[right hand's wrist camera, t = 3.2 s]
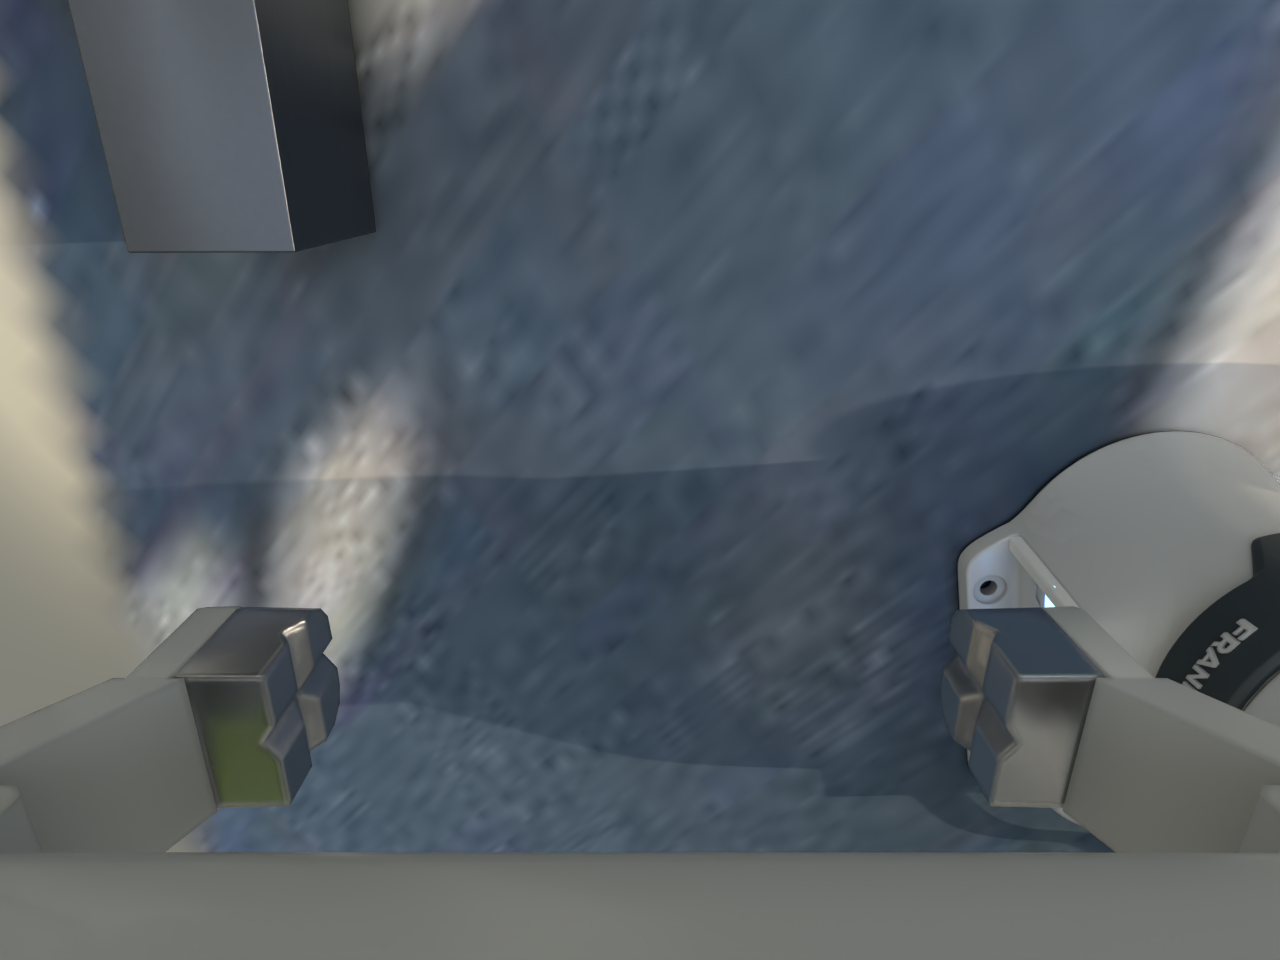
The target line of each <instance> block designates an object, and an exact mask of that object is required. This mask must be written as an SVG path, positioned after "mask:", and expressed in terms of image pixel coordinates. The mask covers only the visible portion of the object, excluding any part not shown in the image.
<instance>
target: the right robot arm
mask: <svg viewBox="0 0 1280 960" xmlns="http://www.w3.org/2000/svg"><path fill="white" fill-rule="evenodd" d="M986 581H991V583H990V585H989V586H987V587H986V588H980V587H981V585H982V584H983V583H984V582H986ZM958 587H959V606H960V610H956V612H955V614H954V616H953V618H952V620H951V623H950V629H949V634H948V640H949V641H950V643H951V644H952V646H953V647H954V649H955V650H956V652H957V654H956V655H955V656H954V657H953V658H952V659H951V660H950V661H949V662H948V663H947V664H946V665H945V666H944V667H943V670H942V678H941V686H940V697H941V708H942V714H943V717H944V720H945V723H946V727H947V729H948V730H949V732H950V734H951V736H952V738H953V740H954V741H955V742H957V743H958V744H960V745H961V746H963V747H964V748H966V749H967V757H968V767H969V769H970V771H971V772H972V774H973V776H974V778H975V780H976V781H977V783H978V785H979V787H980V788H981V790H982V792H983V794H984V796H985V797H986V799H987V801H988V803H989V804H990V806H1009V807H1046V808H1052V809H1053V810H1054V811H1055V812H1057V813H1058V814H1060V815H1061V816H1063V817H1064V818H1066V819H1067V820H1069V821H1071V822H1073V823H1076V824H1078V825H1080V826H1082V827H1084V828H1085V829H1086V830H1087V831H1089V832H1090V833H1091V834H1093V835H1094V836H1095V837H1097V838H1098V839H1099V840H1100V841H1102V842H1103V843H1104V844H1106V845H1107V846H1108V847H1109V848H1111V849H1112V850H1113V851H1115V852H1116V853H164V852H166V851H167V850H168V849H169V848H171V847H172V846H173V845H175V844H176V843H177V842H179V841H180V840H181V839H182V838H184V837H185V836H186V835H188V834H189V833H190V832H191V831H193V830H194V829H195V828H197V827H198V826H199V825H201V824H202V823H203V822H204V821H206V820H207V819H208V818H210V817H211V816H212V815H214V814H215V813H216V812H217V808H233V807H269V806H290V805H291V803H292V801H293V799H294V797H295V796H296V794H297V792H298V790H299V789H300V787H301V785H302V783H303V781H304V780H305V778H306V776H307V774H308V772H309V771H310V769H311V767H312V762H311V757H310V751H311V750H313V749H314V748H316V747H317V746H319V745H320V744H322V743H323V742H325V741H326V740H327V738H328V736H329V734H330V732H331V730H332V728H333V726H334V724H335V720H336V716H337V711H338V707H339V703H340V683H339V676H338V670H337V667H336V666H335V665H334V664H333V663H332V662H331V661H330V660H329V659H328V658H327V657H326V656H325V655H324V654H323V652H324V650H325V649H326V647H327V646H328V644H329V643H330V641H331V640H332V635H331V630H330V625H329V620H328V616H327V615H326V614H325V613H324V612H323V611H322V610H321V609H320V608H268V607H245V608H243V607H240V606H234V607H205V608H199V609H197V610H196V611H195V612H194V613H193V614H191V615H190V616H189V617H188V618H187V619H186V620H185V621H184V622H183V623H182V624H181V625H180V626H179V627H178V628H177V629H176V630H175V631H174V632H173V633H172V634H171V635H170V636H169V637H168V638H167V639H166V640H165V641H164V642H163V643H162V644H161V645H160V646H159V647H157V648H156V649H155V650H154V651H153V652H152V653H151V654H150V655H149V656H148V657H147V658H146V659H145V660H144V661H143V662H142V663H141V664H140V665H139V666H138V667H137V668H136V669H135V670H134V671H133V672H132V673H131V674H130V675H129V676H128V677H127V678H112V679H110V680H107V681H105V682H103V683H100V684H98V685H96V686H94V687H91V688H89V689H87V690H84V691H82V692H80V693H77V694H75V695H73V696H70V697H68V698H66V699H63V700H61V701H59V702H56V703H54V704H52V705H49V706H47V707H45V708H43V709H40V710H38V711H36V712H33V713H31V714H29V715H26V716H24V717H22V718H19V719H17V720H15V721H12V722H10V723H8V724H5V725H3V726H1V727H0V960H1280V484H1279V483H1278V482H1277V480H1276V479H1275V478H1274V477H1273V476H1272V475H1271V474H1270V472H1269V471H1268V470H1267V469H1266V468H1265V467H1264V465H1263V464H1262V463H1261V462H1260V461H1259V460H1258V459H1257V458H1255V457H1254V456H1253V455H1252V454H1250V453H1249V452H1248V451H1246V450H1245V449H1243V448H1241V447H1240V446H1238V445H1236V444H1234V443H1232V442H1230V441H1227V440H1225V439H1222V438H1219V437H1216V436H1212V435H1208V434H1203V433H1197V432H1188V431H1166V432H1156V433H1149V434H1144V435H1139V436H1135V437H1131V438H1128V439H1124V440H1121V441H1118V442H1115V443H1113V444H1110V445H1108V446H1105V447H1103V448H1101V449H1099V450H1097V451H1095V452H1093V453H1091V454H1089V455H1087V456H1085V457H1084V458H1082V459H1080V460H1079V461H1077V462H1075V463H1074V464H1072V465H1071V466H1070V467H1068V468H1067V469H1065V470H1064V471H1063V472H1061V473H1060V474H1059V475H1058V476H1056V477H1055V478H1054V479H1053V480H1052V481H1051V482H1049V483H1048V484H1047V485H1046V486H1045V487H1044V488H1043V489H1042V490H1041V491H1040V492H1039V493H1038V494H1037V496H1036V497H1035V498H1034V499H1033V500H1032V501H1031V502H1030V503H1029V504H1028V505H1027V506H1026V507H1025V509H1024V510H1023V511H1021V512H1020V513H1019V514H1018V515H1017V516H1016V517H1015V518H1014V519H1012V520H1011V521H1010V522H1008V523H1006V524H1004V525H1002V526H1000V527H998V528H997V529H995V530H993V531H991V532H989V533H987V534H985V535H984V536H982V537H980V538H979V539H977V540H975V541H974V542H973V543H971V544H970V545H969V546H968V547H966V548H965V549H964V551H963V552H962V553H961V555H960V557H959V560H958Z"/></svg>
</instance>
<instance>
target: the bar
mask: <svg viewBox="0 0 1280 960" xmlns="http://www.w3.org/2000/svg"><path fill="white" fill-rule="evenodd" d="M68 3H69V7H70V11H71V16H72V20H73V24H74V28H75V32H76V36H77V41H78V45H79V49H80V53H81V57H82V62H83V66H84V70H85V74H86V78H87V83H88V87H89V91H90V95H91V99H92V103H93V108H94V112H95V116H96V120H97V124H98V129H99V133H100V137H101V141H102V145H103V149H104V154H105V158H106V162H107V166H108V170H109V175H110V179H111V183H112V187H113V191H114V196H115V200H116V204H117V208H118V212H119V216H120V221H121V225H122V229H123V233H124V237H125V242H126V246H127V250H128V252H130V253H169V252H297V251H301V250H305V249H309V248H313V247H317V246H321V245H325V244H329V243H333V242H337V241H341V240H345V239H349V238H353V237H357V236H361V235H365V234H369V233H373V232H376V228H375V220H374V212H373V204H372V196H371V187H370V179H369V171H368V163H367V155H366V147H365V139H364V131H363V123H362V115H361V106H360V98H359V90H358V82H357V74H356V66H355V58H354V50H353V42H352V34H351V25H350V17H349V9H348V1H347V0H68Z"/></svg>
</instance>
